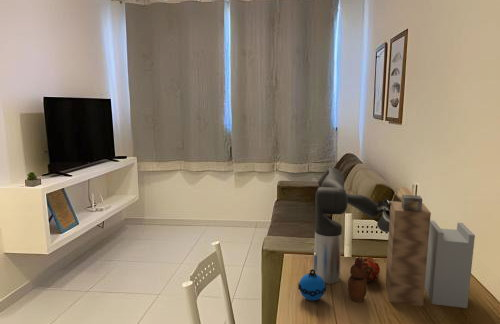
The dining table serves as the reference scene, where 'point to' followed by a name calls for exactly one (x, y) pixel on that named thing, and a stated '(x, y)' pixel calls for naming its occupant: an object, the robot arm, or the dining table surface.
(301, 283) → the ornament
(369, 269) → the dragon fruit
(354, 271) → the wooden figurine
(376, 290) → the dining table surface
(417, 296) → the walnut post
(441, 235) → the grey post
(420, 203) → the light wooden block
